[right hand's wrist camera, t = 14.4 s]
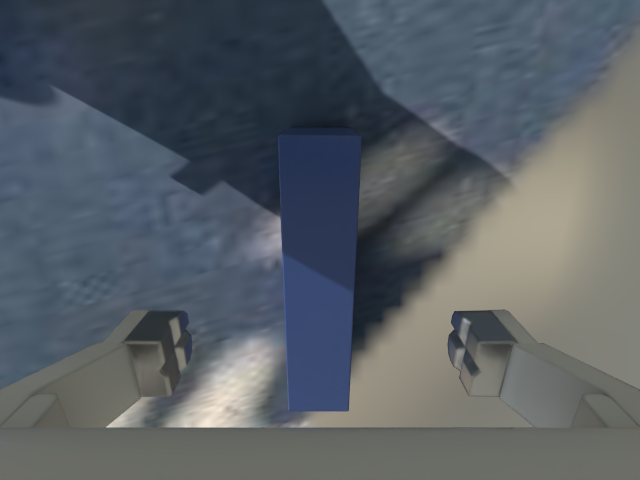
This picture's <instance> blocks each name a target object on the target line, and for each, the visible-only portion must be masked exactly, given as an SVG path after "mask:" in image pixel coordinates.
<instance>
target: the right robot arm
mask: <svg viewBox="0 0 640 480" xmlns="http://www.w3.org/2000/svg"><path fill="white" fill-rule="evenodd" d="M451 323H452V325H453V327H454V330H453V331H452V332H451V333H450V334H449V338H448V354H449V357H450V360H451V362H452V364H453V366H454V367H455V368H456V369H458V370H459V371H461V372H460V377H459V378H460V380H461V382H462V384H463V386H464V388H465V390H466V392H467V394H468V395H469V396H487V397H500V399H501V400H502V401H503V402H504V403H506V404H507V405H508V406H509V407H511V408H512V409H513V410H514V411H516V412H517V413H518V414H519V415H520V416H521V417H523V418H524V419H525V420H526V421H528V422H529V423H530V424H531V425H532V426H534V427H535V428H105V427H106V426H108V425H109V424H110V423H111V422H113V421H114V420H115V419H116V418H117V417H119V416H120V415H121V414H122V413H124V412H125V411H126V410H127V409H128V408H130V407H131V406H132V405H133V404H134V403H136V402H137V401H138V400H139V399H140V397H154V396H172V394H173V392H174V390H175V388H176V386H177V384H178V382H179V380H180V378H181V377H180V372H179V371H181V370H182V369H184V368H185V367H187V364H188V362H189V360H190V357H191V352H192V338H191V334H190V333H189V332H188V331H187V330H186V327H187V325H188V324H189V320H188V316H187V313H186V312H185V311H175V310H134V311H131V312H130V313H129V315H128V316H127V317H126V318H125V319H124V320H123V321H122V322H121V323H120V324H119V325H118V326H117V328H116V329H115V330H114V331H113V332H112V333H111V334H110V335H109V336H108V337H107V338H106V339H105V340H104V342H103V343H96V344H94V345H92V346H90V347H88V348H86V349H84V350H81V351H79V352H77V353H75V354H73V355H71V356H69V357H67V358H65V359H63V360H61V361H59V362H57V363H54V364H52V365H50V366H48V367H46V368H44V369H42V370H40V371H38V372H36V373H34V374H32V375H29V376H27V377H25V378H23V379H21V380H19V381H17V382H15V383H13V384H11V385H9V386H7V387H5V388H2V389H0V480H640V390H639V389H637V388H635V387H633V386H631V385H629V384H627V383H625V382H623V381H621V380H619V379H616V378H614V377H612V376H610V375H608V374H606V373H604V372H602V371H600V370H598V369H596V368H594V367H592V366H590V365H588V364H585V363H583V362H581V361H579V360H577V359H575V358H573V357H571V356H569V355H567V354H565V353H563V352H561V351H558V350H556V349H554V348H552V347H550V346H548V345H546V344H544V343H537V342H536V340H535V339H534V338H533V337H532V336H531V335H530V334H529V333H528V332H527V331H526V330H525V329H524V328H523V326H522V325H521V324H520V323H519V322H518V321H517V320H516V319H515V318H514V317H513V316H512V315H511V314H510V312H508V311H506V310H488V311H454V313H453V315H452V320H451Z"/></svg>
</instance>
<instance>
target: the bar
mask: <svg viewBox="0 0 640 480" xmlns="http://www.w3.org/2000/svg"><path fill="white" fill-rule="evenodd" d="M361 143H362V136H361V135H360V134H358V133H357V132H356V131H354V130H353V129H351V128H349V127H289V128H287V129H286V130H285V131H283V132H282V133H280V134H279V135H278V160H279V185H280V209H281V234H282V259H283V283H284V308H285V333H286V357H287V382H288V407H289V411H348V410H349V393H350V373H351V352H352V331H353V310H354V289H355V268H356V247H357V226H358V205H359V184H360V163H361Z"/></svg>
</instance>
